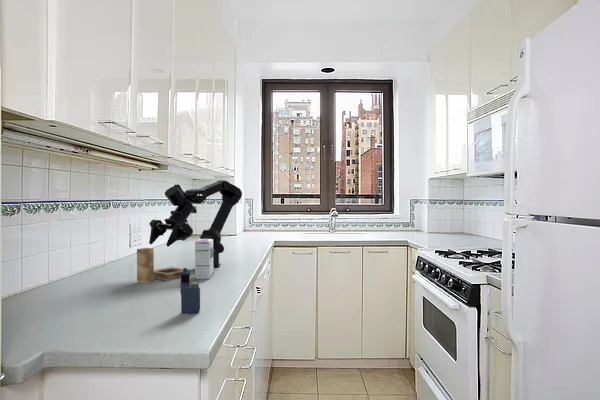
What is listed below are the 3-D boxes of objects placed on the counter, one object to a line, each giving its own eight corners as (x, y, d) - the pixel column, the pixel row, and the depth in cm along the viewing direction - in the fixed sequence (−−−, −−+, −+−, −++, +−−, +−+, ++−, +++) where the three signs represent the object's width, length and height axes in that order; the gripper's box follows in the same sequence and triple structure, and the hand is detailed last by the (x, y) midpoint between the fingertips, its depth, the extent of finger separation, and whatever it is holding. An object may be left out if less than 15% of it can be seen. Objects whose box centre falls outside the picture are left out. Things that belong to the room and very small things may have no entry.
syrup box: (210, 279, 149) (210, 240, 149) (194, 279, 149) (194, 240, 149) (213, 275, 155) (213, 238, 155) (198, 275, 155) (198, 238, 155)
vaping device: (182, 311, 109) (182, 267, 109) (201, 311, 109) (201, 267, 109) (179, 313, 107) (179, 269, 107) (198, 314, 107) (198, 269, 106)
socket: (170, 272, 161) (170, 267, 161) (190, 275, 156) (190, 269, 156) (147, 277, 152) (147, 271, 152) (167, 280, 146) (167, 274, 146)
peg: (146, 280, 147) (146, 247, 147) (153, 281, 145) (153, 248, 144) (137, 282, 143) (136, 249, 143) (144, 283, 141) (144, 249, 141)
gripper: (208, 228, 159) (187, 260, 149) (175, 226, 168) (153, 255, 158) (194, 209, 152) (171, 241, 142) (160, 207, 161) (136, 237, 151)
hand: (158, 244), depth 149 cm, fingers open, 9 cm apart
